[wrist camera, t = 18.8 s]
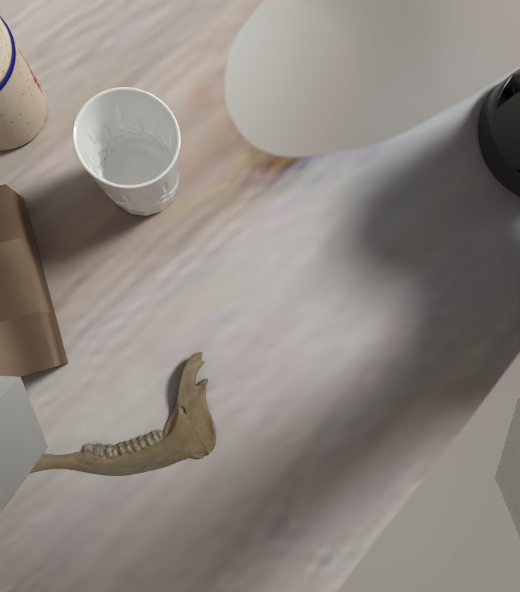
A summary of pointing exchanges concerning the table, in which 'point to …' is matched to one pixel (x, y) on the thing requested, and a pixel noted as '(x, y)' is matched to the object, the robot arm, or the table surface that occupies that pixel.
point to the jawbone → (151, 437)
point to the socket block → (24, 296)
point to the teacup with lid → (18, 95)
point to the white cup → (130, 148)
